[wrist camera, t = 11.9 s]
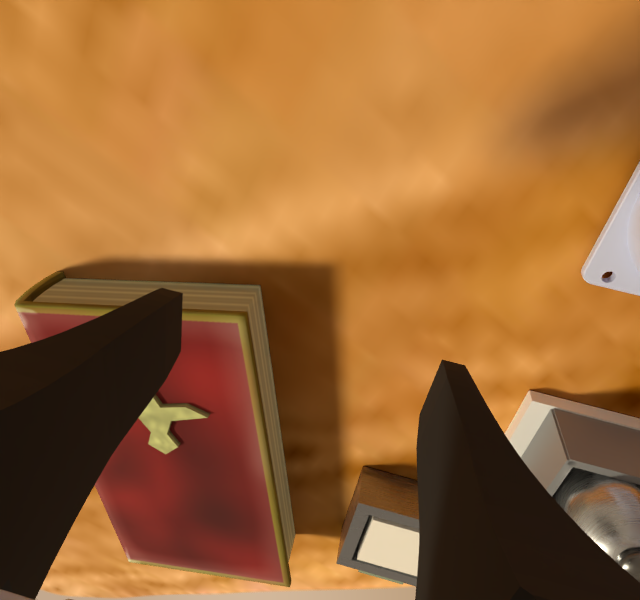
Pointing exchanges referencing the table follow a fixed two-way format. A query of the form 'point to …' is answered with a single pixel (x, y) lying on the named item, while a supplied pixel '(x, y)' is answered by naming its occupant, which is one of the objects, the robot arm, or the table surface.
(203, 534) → the hardcover book
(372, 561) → the pad
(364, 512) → the cradle
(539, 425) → the battery holder
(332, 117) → the table surface
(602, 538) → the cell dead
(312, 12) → the table surface
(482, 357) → the table surface
